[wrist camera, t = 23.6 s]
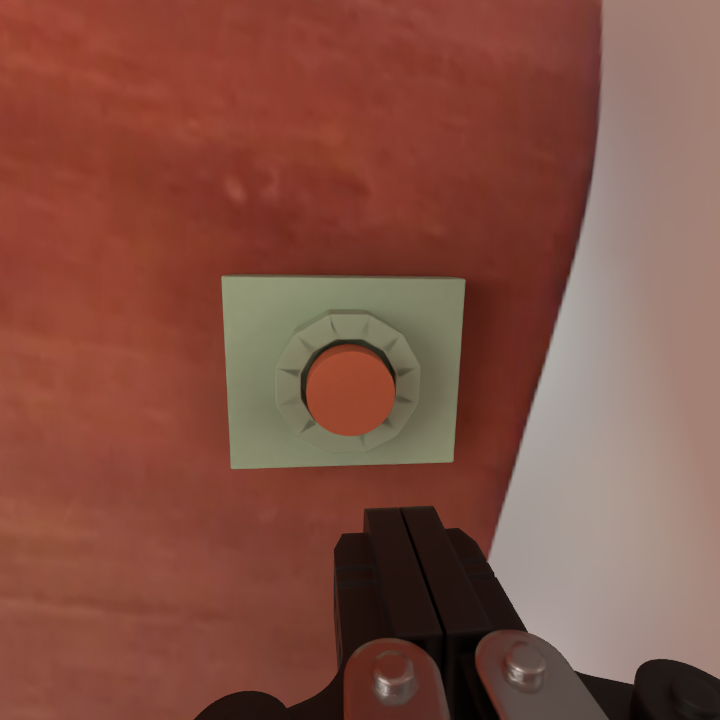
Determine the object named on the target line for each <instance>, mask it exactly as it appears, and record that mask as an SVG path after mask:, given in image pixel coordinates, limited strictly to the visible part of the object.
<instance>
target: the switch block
mask: <svg viewBox="0 0 720 720" xmlns="http://www.w3.org/2000/svg"><path fill="white" fill-rule="evenodd" d="M221 279H222V299H223V319H224V339H225V360H226V380H227V400H228V420H229V440H230V460H231V469H252V468H284V467H316V466H348V465H380V464H412V463H444V462H453V457H454V442H455V427H456V413H457V398H458V383H459V368H460V354H461V339H462V324H463V309H464V295H465V279H462V278H457V277H449V276H364V275H280V274H228V275H225V276H222V277H221ZM341 344H357V345H361V346H364V347H366V348H368V349H370V350H372V351H373V352H374V353H376V354H377V355H378V356H379V357H380V358H381V360H382V361H383V363H384V364H385V366H386V367H387V369H388V370H389V372H390V374H391V376H392V378H393V381H394V386H395V399H394V404H393V407H392V409H391V411H390V413H389V415H388V416H387V418H386V419H385V420H384V421H383V422H382V423H381V424H380V425H379V426H378V427H377V428H375V429H373V430H372V431H370V432H368V433H365V434H362V435H357V436H342V435H337V434H334V433H332V432H329V431H328V430H326V429H324V428H323V427H322V426H320V425H319V424H318V423H317V422H316V420H315V419H314V418H313V416H312V414H311V413H310V410H309V408H308V404H307V397H306V388H307V376H308V373H309V370H310V368H311V366H312V364H313V362H314V361H315V360H316V358H317V357H318V356H319V355H320V354H322V353H323V352H324V351H326V350H327V349H329V348H331V347H334V346H337V345H341Z"/></svg>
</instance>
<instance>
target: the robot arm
mask: <svg viewBox="0 0 720 720" xmlns="http://www.w3.org/2000/svg"><path fill="white" fill-rule="evenodd" d="M334 623H335V635H336V651H337V665H338V673H337V674H336V676H335V678H334V679H333V680H332V681H331V683H330V684H329V685H328V686H327V687H326V688H325V689H324V690H323V691H321V692H320V693H318V694H317V695H315V696H314V697H312V698H310V699H308V700H306V701H303V702H301V703H299V704H296V705H294V706H292V707H289V708H286V707H285V706H284V704H283V703H282V702H280V701H279V700H278V699H277V698H275V697H273V696H271V695H269V694H266V693H263V692H257V691H242V692H237V693H233V694H230V695H227V696H225V697H223V698H221V699H219V700H217V701H215V702H214V703H212V704H211V705H209V706H208V707H207V708H205V709H204V710H203V711H202V712H201V713H200V714H199V715H198V716H197V717H196V718H195V719H194V720H720V680H719V679H718V678H716V677H714V676H712V675H710V674H708V673H706V672H704V671H702V670H700V669H698V668H696V667H693V666H691V665H688V664H686V663H682V662H678V661H674V660H667V659H656V660H650V661H647V662H645V663H644V664H642V665H641V666H640V667H639V668H638V670H637V672H636V675H635V680H634V685H633V684H628V683H623V682H618V681H614V680H609V679H603V678H599V677H594V676H590V675H586V674H582V673H579V672H577V671H574V670H573V669H572V667H571V666H570V664H569V663H568V662H567V660H566V659H565V658H564V656H563V655H562V654H561V653H560V652H559V651H558V650H557V649H556V648H555V647H553V646H552V645H551V644H549V643H548V642H546V641H545V640H543V639H541V638H539V637H537V636H535V635H533V634H530V633H528V631H527V630H526V628H525V626H524V624H523V623H522V621H521V619H520V617H519V616H518V614H517V612H516V611H515V609H514V607H513V605H512V603H511V602H510V600H509V598H508V597H507V595H506V593H505V591H504V590H503V588H502V586H501V584H500V583H499V581H498V579H497V578H495V576H494V572H493V570H492V569H491V567H490V565H489V563H487V562H486V558H485V556H484V555H483V553H482V551H481V549H480V548H479V546H478V544H477V543H476V542H475V541H474V540H473V539H472V538H470V537H469V536H468V535H467V534H465V533H464V532H463V531H462V530H460V529H459V528H451V529H444V527H443V525H442V522H441V520H440V518H439V516H438V514H437V512H436V510H435V508H434V507H433V506H415V507H400V508H398V507H394V508H370V509H365V510H364V526H363V533H348V534H342V536H341V538H340V540H339V541H338V543H337V545H336V547H335V549H334Z"/></svg>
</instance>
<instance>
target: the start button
mask: <svg viewBox="0 0 720 720" xmlns="http://www.w3.org/2000/svg"><path fill="white" fill-rule="evenodd" d="M306 397H307V404H308V408H309V410H310V413H311V414H312V416H313V418H314V419H315V420H316V422H317V423H318V424H319V425H320V426H322V427H323V428H324V429H326V430H328V431H329V432H332V433H334V434H337V435H342V436H357V435H362V434H365V433H368V432H370V431H372V430H373V429H375V428H377V427H378V426H379V425H380V424H381V423H382V422H383V421H384V420H385V419H386V418H387V416H388V415H389V413H390V411H391V409H392V407H393V404H394V399H395V386H394V381H393V378H392V376H391V374H390V372H389V370H388V369H387V367H386V366H385V364H384V363H383V361H382V360H381V358H380V357H379V356H378V355H377V354H376V353H374V352H373V351H372V350H370V349H368V348H366V347H364V346H361V345H357V344H341V345H337V346H334V347H331V348H329V349H327V350H326V351H324V352H323V353H322V354H320V355H319V356H318V357H317V358H316V360H315V361H314V362H313V364H312V366H311V368H310V370H309V373H308V376H307V388H306Z"/></svg>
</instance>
